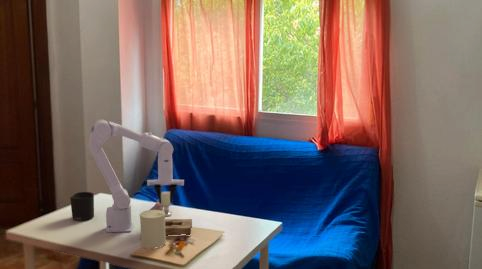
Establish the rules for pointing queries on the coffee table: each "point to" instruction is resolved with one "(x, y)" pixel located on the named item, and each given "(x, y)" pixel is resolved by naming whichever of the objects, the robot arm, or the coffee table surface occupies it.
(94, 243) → the coffee table surface
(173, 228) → the keyhole plate
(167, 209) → the steel peg
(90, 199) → the pen holder
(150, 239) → the can
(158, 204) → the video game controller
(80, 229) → the coffee table surface
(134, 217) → the coffee table surface
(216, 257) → the coffee table surface
